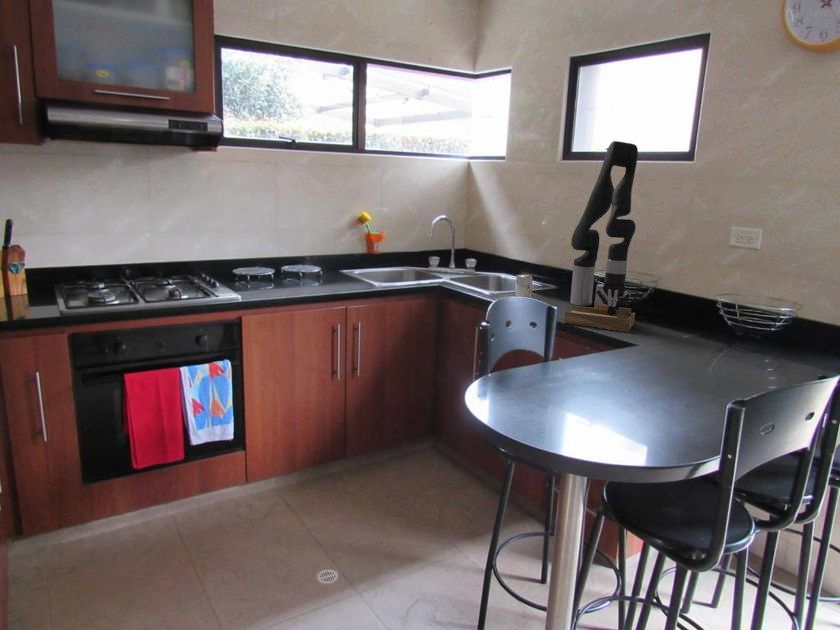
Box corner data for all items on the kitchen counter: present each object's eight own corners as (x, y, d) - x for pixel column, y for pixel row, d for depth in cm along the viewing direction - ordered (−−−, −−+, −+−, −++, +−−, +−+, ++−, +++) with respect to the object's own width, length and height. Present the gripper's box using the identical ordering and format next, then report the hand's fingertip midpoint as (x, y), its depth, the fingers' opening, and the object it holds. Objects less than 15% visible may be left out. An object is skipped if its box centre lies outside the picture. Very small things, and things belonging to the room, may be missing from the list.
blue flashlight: (512, 312, 254) (515, 276, 251) (514, 308, 261) (516, 273, 257) (529, 313, 253) (532, 277, 249) (531, 310, 259) (533, 275, 256)
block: (618, 317, 240) (619, 307, 239) (630, 318, 238) (631, 308, 237) (616, 319, 236) (617, 309, 235) (628, 320, 234) (629, 310, 233)
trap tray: (572, 316, 250) (573, 305, 249) (633, 324, 240) (635, 312, 239) (563, 323, 237) (564, 312, 236) (628, 331, 227) (629, 320, 226)
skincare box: (593, 313, 257) (596, 285, 254) (595, 311, 260) (598, 283, 258) (608, 315, 254) (611, 286, 251) (610, 313, 258) (613, 285, 255)
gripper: (635, 272, 235) (630, 316, 239) (600, 268, 241) (595, 311, 245) (632, 274, 229) (627, 319, 233) (596, 271, 235) (591, 315, 238)
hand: (611, 315), depth 239 cm, fingers closed
